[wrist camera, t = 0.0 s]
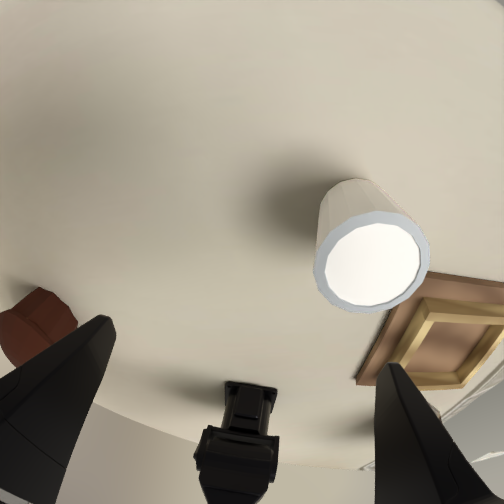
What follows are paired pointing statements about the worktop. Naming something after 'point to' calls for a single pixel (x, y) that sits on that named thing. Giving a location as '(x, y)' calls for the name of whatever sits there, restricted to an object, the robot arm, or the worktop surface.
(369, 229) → the white cup
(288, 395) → the worktop surface
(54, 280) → the worktop surface
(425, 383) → the holder
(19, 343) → the muffin
